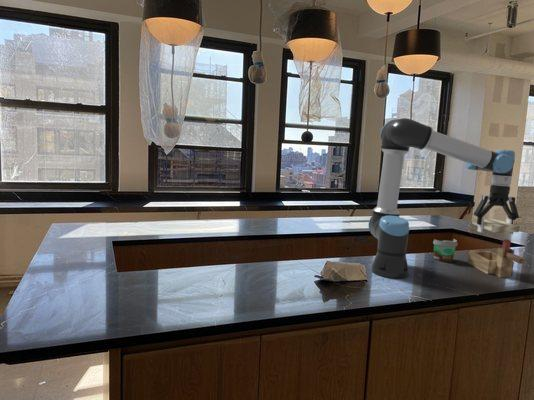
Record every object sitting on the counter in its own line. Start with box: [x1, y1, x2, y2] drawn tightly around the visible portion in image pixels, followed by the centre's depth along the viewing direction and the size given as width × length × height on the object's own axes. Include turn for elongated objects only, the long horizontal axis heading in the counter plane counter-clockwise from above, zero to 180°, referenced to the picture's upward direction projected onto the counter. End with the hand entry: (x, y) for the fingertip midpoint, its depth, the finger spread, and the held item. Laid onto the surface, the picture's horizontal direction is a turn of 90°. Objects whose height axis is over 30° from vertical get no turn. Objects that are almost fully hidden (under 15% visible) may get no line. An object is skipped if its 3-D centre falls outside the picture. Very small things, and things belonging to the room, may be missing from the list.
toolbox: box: [467, 247, 515, 279], centre depth 175 cm, size 11×20×12 cm, turn 2°
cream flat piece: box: [471, 217, 520, 235], centre depth 175 cm, size 12×15×4 cm
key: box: [501, 239, 527, 265], centre depth 162 cm, size 2×12×7 cm, turn 2°
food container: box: [432, 238, 458, 263], centre depth 186 cm, size 12×6×10 cm, turn 105°
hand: (493, 232), depth 175 cm, fingers closed on cream flat piece, 12 cm apart
